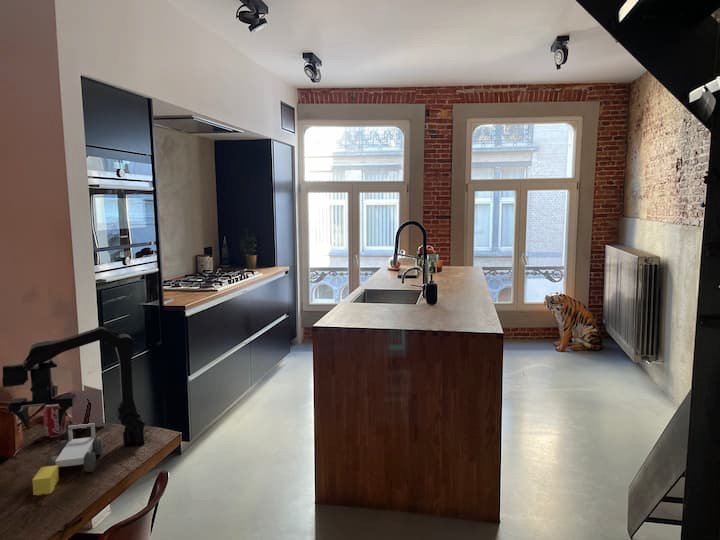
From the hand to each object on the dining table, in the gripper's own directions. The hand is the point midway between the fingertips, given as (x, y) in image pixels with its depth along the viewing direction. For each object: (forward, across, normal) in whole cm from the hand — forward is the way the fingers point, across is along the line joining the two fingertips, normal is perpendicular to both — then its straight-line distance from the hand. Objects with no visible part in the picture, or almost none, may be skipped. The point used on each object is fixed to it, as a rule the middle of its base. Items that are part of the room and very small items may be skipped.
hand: (44, 427), depth 168 cm
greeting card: (+12, -6, -28) cm, 31 cm away
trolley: (+12, -10, +4) cm, 16 cm away
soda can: (+12, +4, -24) cm, 27 cm away
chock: (+12, -5, +18) cm, 22 cm away
